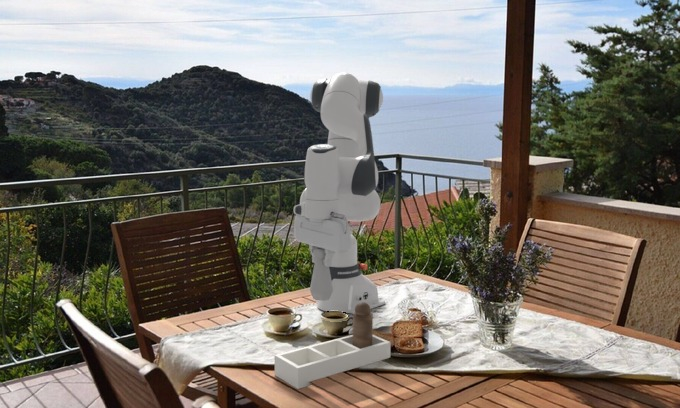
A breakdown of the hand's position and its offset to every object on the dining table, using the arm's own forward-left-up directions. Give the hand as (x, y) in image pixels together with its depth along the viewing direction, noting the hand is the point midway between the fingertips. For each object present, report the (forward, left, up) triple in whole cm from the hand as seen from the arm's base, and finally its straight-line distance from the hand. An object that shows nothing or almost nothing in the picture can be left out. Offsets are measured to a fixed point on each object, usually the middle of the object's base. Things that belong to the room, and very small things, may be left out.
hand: (321, 264), depth 169 cm
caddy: (+2, +8, -24) cm, 26 cm away
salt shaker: (0, 0, -9) cm, 9 cm away
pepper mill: (-7, +8, -23) cm, 26 cm away
